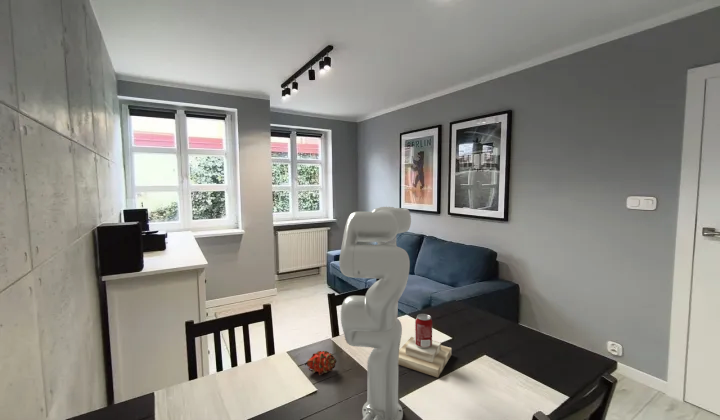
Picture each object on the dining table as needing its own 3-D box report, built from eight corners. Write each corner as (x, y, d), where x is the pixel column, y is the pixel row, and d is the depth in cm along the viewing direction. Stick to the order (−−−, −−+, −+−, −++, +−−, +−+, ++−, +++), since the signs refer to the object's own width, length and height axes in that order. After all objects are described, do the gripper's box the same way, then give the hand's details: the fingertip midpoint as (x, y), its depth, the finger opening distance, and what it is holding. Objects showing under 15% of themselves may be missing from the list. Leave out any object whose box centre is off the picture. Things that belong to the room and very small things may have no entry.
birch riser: (437, 377, 116) (438, 362, 115) (393, 362, 125) (393, 348, 125) (451, 354, 131) (451, 341, 131) (411, 343, 141) (411, 330, 140)
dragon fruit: (339, 376, 119) (307, 381, 119) (337, 354, 125) (307, 359, 125) (335, 367, 113) (302, 372, 113) (334, 344, 120) (303, 349, 120)
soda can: (432, 350, 124) (432, 320, 123) (414, 348, 125) (415, 319, 124) (431, 341, 130) (432, 313, 129) (415, 340, 131) (415, 312, 130)
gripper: (384, 243, 112) (384, 290, 113) (404, 236, 126) (404, 278, 128) (366, 241, 116) (366, 286, 117) (388, 234, 130) (387, 275, 132)
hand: (386, 282), depth 122 cm, fingers open, 9 cm apart
